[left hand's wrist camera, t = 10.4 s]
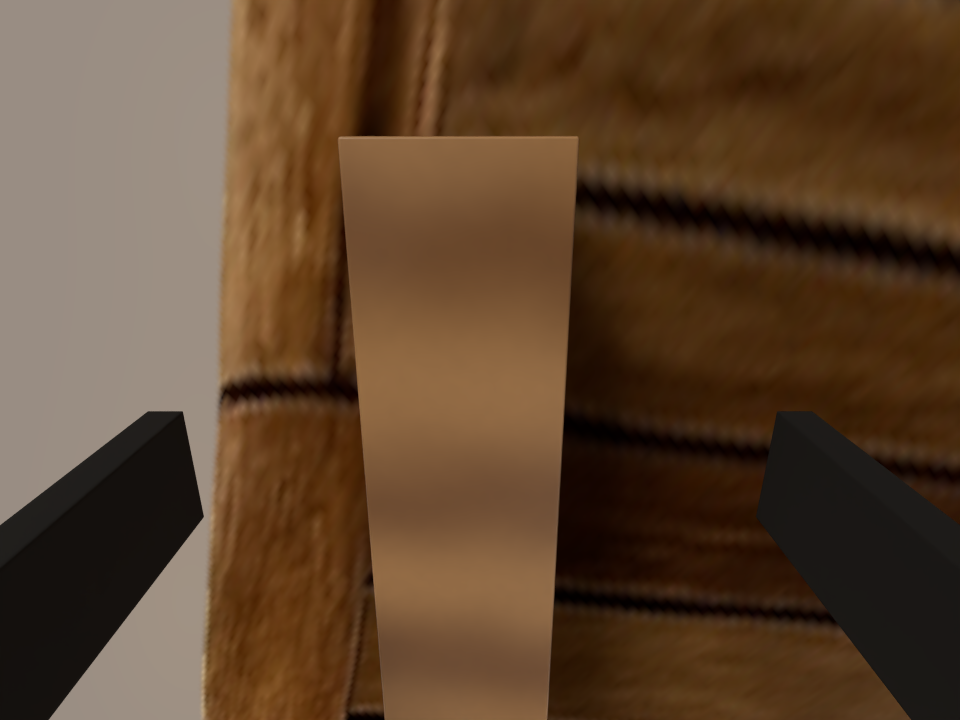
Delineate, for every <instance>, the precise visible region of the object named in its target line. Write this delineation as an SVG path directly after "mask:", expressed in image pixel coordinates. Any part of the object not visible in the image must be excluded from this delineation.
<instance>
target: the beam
mask: <svg viewBox="0 0 960 720" xmlns="http://www.w3.org/2000/svg"><path fill="white" fill-rule="evenodd" d="M338 149H339V161H340V174H341V186H342V198H343V211H344V223H345V235H346V248H347V260H348V272H349V285H350V297H351V309H352V322H353V334H354V346H355V359H356V371H357V383H358V396H359V408H360V421H361V433H362V445H363V458H364V470H365V482H366V495H367V507H368V519H369V532H370V544H371V556H372V569H373V581H374V593H375V606H376V618H377V630H378V643H379V655H380V668H381V680H382V692H383V705H384V717H385V720H548V701H549V683H550V665H551V646H552V628H553V610H554V591H555V573H556V555H557V536H558V518H559V499H560V481H561V463H562V444H563V426H564V408H565V389H566V371H567V353H568V334H569V316H570V298H571V279H572V261H573V243H574V224H575V206H576V188H577V169H578V151H579V138H578V137H577V136H340V137H338Z"/></svg>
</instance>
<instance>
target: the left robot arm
mask: <svg viewBox="0 0 960 720" xmlns="http://www.w3.org/2000/svg"><path fill="white" fill-rule="evenodd" d="M203 517H204V515H203V510H202V505H201V500H200V495H199V490H198V485H197V480H196V475H195V470H194V465H193V461H192V455H191V450H190V445H189V440H188V435H187V430H186V425H185V421H184V415H183V412H182V411H180V412H179V411H178V412H177V411H176V412H175V411H169V412H168V411H167V412H165V411H164V412H163V411H155V412H154V411H153V412H152V411H151V412H150V411H149V412H147V413H145V414H144V415H143V416H142V417H140V418H139V419H138V420H136V421H135V422H134V423H132V424H131V425H130V426H129V427H127V428H126V429H125V430H123V431H122V432H121V433H120V434H118V435H117V436H116V437H114V438H113V439H112V440H110V441H109V442H108V443H106V444H105V445H104V446H103V447H101V448H100V449H99V450H97V451H96V452H95V453H93V454H92V455H91V456H90V457H88V458H87V459H86V460H84V461H83V462H82V463H80V464H79V465H78V466H77V467H75V468H74V469H73V470H71V471H70V472H69V473H67V474H66V475H65V476H64V477H62V478H61V479H60V480H58V481H57V482H56V483H54V484H53V485H52V486H51V487H49V488H48V489H47V490H45V491H44V492H43V493H41V494H40V495H39V496H38V497H36V498H35V499H34V500H32V501H31V502H30V503H29V504H27V505H26V506H25V507H23V508H22V509H21V510H19V511H18V512H17V513H16V514H14V515H13V516H12V517H10V518H9V519H8V520H7V521H5V522H4V523H3V524H1V525H0V720H49V719H50V717H51V716H52V715H53V713H54V712H55V711H56V709H57V708H58V707H59V705H60V704H61V703H62V702H63V700H64V699H65V698H66V696H67V695H68V694H69V692H70V691H71V690H72V688H73V687H74V686H75V685H76V683H77V682H78V681H79V679H80V678H81V677H82V675H83V674H84V673H85V671H86V670H87V669H88V668H89V666H90V665H91V664H92V662H93V661H94V660H95V658H96V657H97V656H98V654H99V653H100V652H101V651H102V649H103V648H104V647H105V645H106V644H107V643H108V641H109V640H110V639H111V637H112V636H113V635H114V634H115V632H116V631H117V630H118V628H119V627H120V626H121V624H122V623H123V622H124V621H125V619H126V618H127V617H128V615H129V614H130V613H131V611H132V610H133V609H134V607H135V606H136V605H137V604H138V602H139V601H140V600H141V598H142V597H143V596H144V594H145V593H146V592H147V590H148V589H149V588H150V587H151V585H152V584H153V583H154V581H155V580H156V579H157V577H158V576H159V575H160V573H161V572H162V571H163V570H164V568H165V567H166V566H167V564H168V563H169V562H170V560H171V559H172V558H173V556H174V555H175V554H176V552H177V551H178V550H179V549H180V547H181V546H182V545H183V543H184V542H185V541H186V540H187V538H188V537H189V536H190V534H191V533H192V532H193V530H194V529H195V528H196V526H197V525H198V524H199V523H200V521H201V520H202V519H203ZM756 517H757V519H758V520H759V521H760V523H761V524H762V525H763V526H764V528H765V529H766V530H767V532H768V533H769V534H770V536H771V537H772V538H773V540H774V541H775V542H776V543H777V545H778V546H779V547H780V549H781V550H782V551H783V553H784V554H785V555H786V556H787V558H788V559H789V560H790V562H791V563H792V564H793V566H794V567H795V568H796V570H797V571H798V572H799V573H800V575H801V576H802V577H803V579H804V580H805V581H806V583H807V584H808V585H809V587H810V588H811V589H812V590H813V592H814V593H815V594H816V596H817V597H818V598H819V600H820V601H821V602H822V604H823V605H824V606H825V607H826V609H827V610H828V611H829V613H830V614H831V615H832V617H833V618H834V619H835V621H836V622H837V623H838V624H839V626H840V627H841V628H842V630H843V631H844V632H845V634H846V635H847V636H848V638H849V639H850V640H851V641H852V643H853V644H854V645H855V647H856V648H857V649H858V651H859V652H860V653H861V655H862V656H863V657H864V658H865V660H866V661H867V662H868V664H869V665H870V666H871V668H872V669H873V670H874V671H875V673H876V674H877V675H878V677H879V678H880V679H881V681H882V682H883V683H884V685H885V686H886V687H887V688H888V690H889V691H890V692H891V694H892V695H893V696H894V698H895V699H896V700H897V702H898V703H899V704H900V705H901V707H902V708H903V709H904V711H905V712H906V713H907V715H908V716H909V717H910V719H911V720H960V525H959V524H957V523H956V522H955V521H954V520H952V519H951V518H950V517H948V516H947V515H946V514H944V513H943V512H942V511H941V510H939V509H938V508H937V507H935V506H934V505H933V504H931V503H930V502H929V501H928V500H926V499H925V498H924V497H922V496H921V495H920V494H919V493H917V492H916V491H915V490H913V489H912V488H911V487H909V486H908V485H907V484H906V483H904V482H903V481H902V480H900V479H899V478H898V477H896V476H895V475H894V474H893V473H891V472H890V471H889V470H887V469H886V468H885V467H883V466H882V465H881V464H880V463H878V462H877V461H876V460H874V459H873V458H872V457H870V456H869V455H868V454H867V453H865V452H864V451H863V450H861V449H860V448H859V447H857V446H856V445H855V444H854V443H852V442H851V441H850V440H848V439H847V438H846V437H844V436H843V435H842V434H841V433H839V432H838V431H837V430H835V429H834V428H833V427H831V426H830V425H829V424H828V423H826V422H825V421H824V420H822V419H821V418H820V417H818V416H817V415H816V414H815V413H813V412H812V411H777V415H776V420H775V425H774V430H773V435H772V440H771V445H770V450H769V455H768V460H767V465H766V470H765V475H764V480H763V485H762V490H761V495H760V500H759V505H758V510H757V515H756Z"/></svg>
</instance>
